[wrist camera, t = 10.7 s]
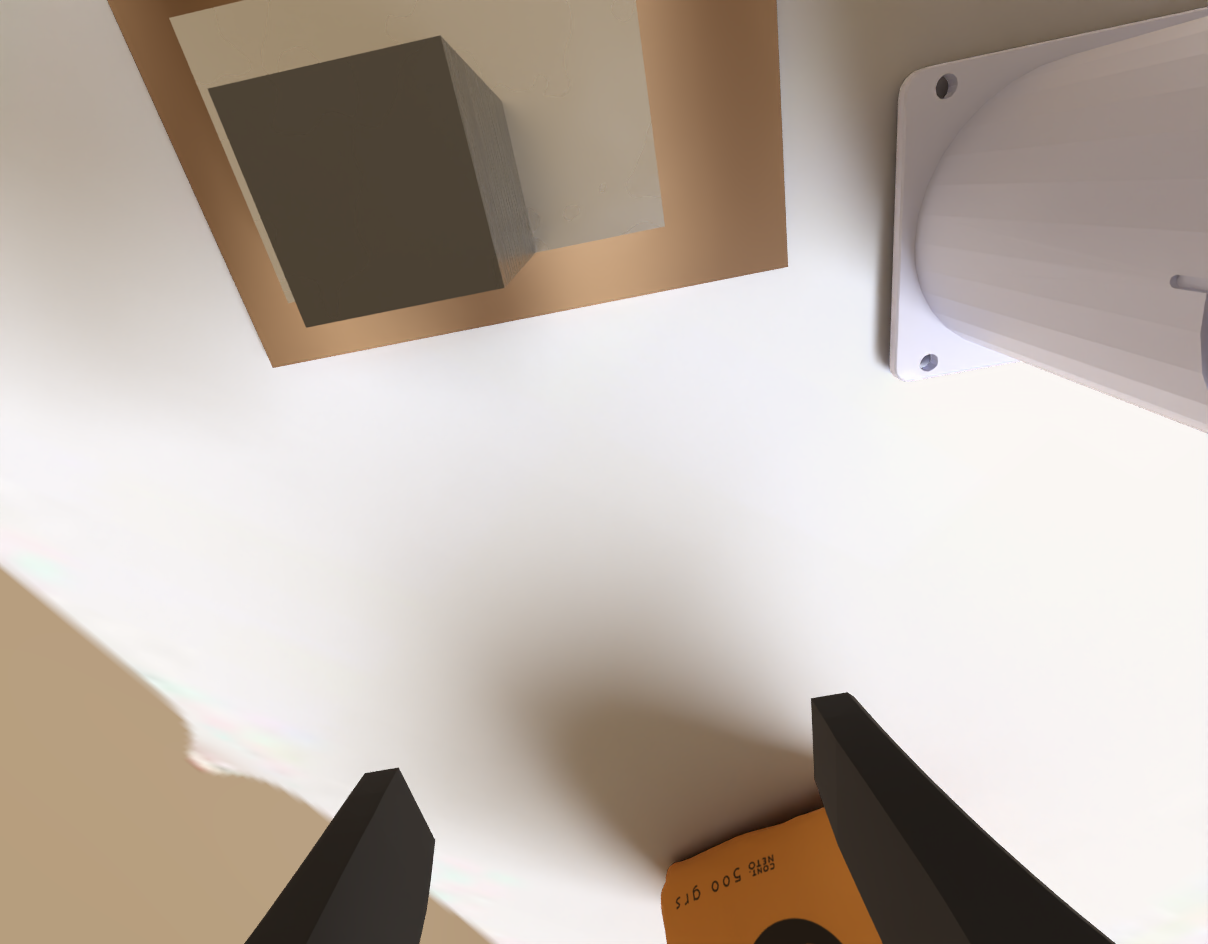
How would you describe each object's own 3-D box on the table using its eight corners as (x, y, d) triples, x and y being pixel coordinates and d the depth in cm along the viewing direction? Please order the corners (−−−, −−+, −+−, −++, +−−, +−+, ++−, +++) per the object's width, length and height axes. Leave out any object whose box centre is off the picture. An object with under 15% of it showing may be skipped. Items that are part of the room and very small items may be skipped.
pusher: (617, -41, 13) (654, -337, 6) (653, 221, 15) (711, 246, 8) (238, 47, 13) (-164, -121, 6) (331, 287, 16) (116, 366, 9)
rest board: (762, -168, 12) (768, -182, 12) (782, 264, 16) (787, 266, 16) (115, -12, 13) (98, -19, 13) (281, 363, 17) (272, 368, 17)
